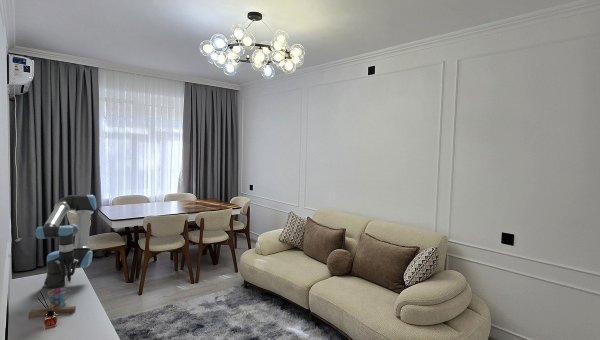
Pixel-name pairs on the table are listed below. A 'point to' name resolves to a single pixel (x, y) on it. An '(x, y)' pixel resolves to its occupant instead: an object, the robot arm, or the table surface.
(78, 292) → the table surface
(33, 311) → the board
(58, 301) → the mug
